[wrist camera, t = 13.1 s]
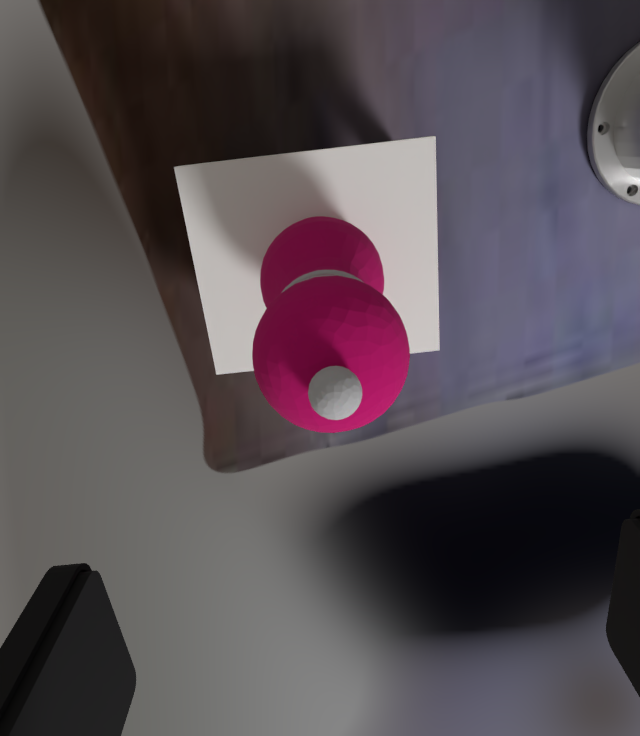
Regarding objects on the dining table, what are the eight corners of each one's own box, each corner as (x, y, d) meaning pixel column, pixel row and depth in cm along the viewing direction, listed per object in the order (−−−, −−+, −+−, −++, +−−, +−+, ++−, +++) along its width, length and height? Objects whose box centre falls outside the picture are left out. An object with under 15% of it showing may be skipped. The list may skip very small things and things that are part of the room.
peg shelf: (407, 136, 40) (435, 136, 32) (414, 310, 46) (439, 350, 37) (202, 160, 41) (173, 166, 32) (233, 330, 46) (216, 374, 38)
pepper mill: (250, 225, 34) (185, 329, 15) (360, 194, 33) (430, 263, 15) (283, 328, 36) (260, 520, 18) (385, 301, 36) (468, 471, 17)
